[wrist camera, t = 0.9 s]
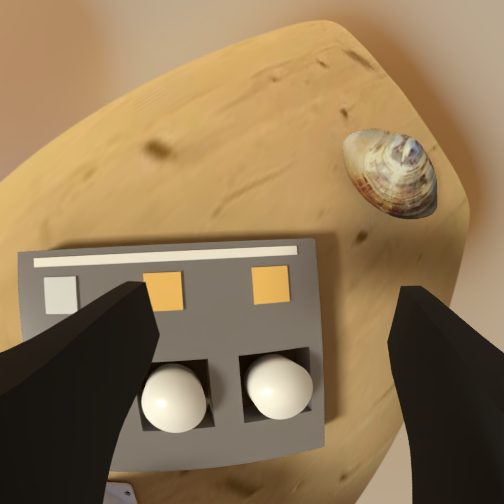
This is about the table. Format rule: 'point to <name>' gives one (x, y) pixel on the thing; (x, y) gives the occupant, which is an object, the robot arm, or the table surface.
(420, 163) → the seashell
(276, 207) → the table surface
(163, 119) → the table surface
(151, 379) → the button middle
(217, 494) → the table surface
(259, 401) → the button
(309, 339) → the switch console
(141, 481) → the table surface
